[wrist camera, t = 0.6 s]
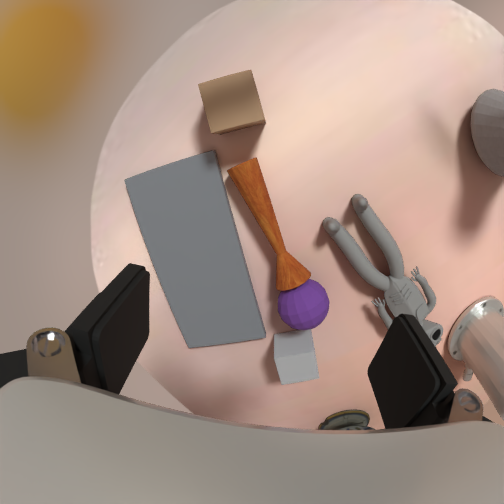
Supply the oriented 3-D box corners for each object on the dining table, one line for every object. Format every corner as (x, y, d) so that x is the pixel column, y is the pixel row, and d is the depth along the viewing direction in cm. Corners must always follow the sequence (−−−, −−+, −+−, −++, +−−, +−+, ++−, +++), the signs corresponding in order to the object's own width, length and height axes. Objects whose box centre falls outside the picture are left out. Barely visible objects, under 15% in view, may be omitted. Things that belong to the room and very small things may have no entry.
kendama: (272, 149, 26) (342, 324, 31) (264, 155, 32) (326, 304, 36) (213, 175, 26) (294, 347, 31) (216, 177, 32) (284, 323, 37)
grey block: (315, 353, 39) (319, 378, 34) (281, 360, 40) (281, 384, 35) (310, 327, 37) (314, 351, 33) (274, 334, 38) (274, 358, 33)
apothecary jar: (331, 402, 43) (345, 493, 26) (386, 407, 44) (409, 487, 27) (302, 437, 47) (306, 515, 31) (354, 441, 48) (366, 512, 31)
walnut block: (265, 123, 29) (264, 119, 24) (220, 134, 29) (211, 133, 25) (254, 80, 27) (251, 69, 22) (209, 92, 28) (198, 84, 23)
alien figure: (376, 189, 27) (458, 336, 32) (362, 183, 31) (444, 318, 36) (315, 237, 29) (413, 369, 34) (310, 225, 33) (403, 349, 38)
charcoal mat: (265, 333, 38) (265, 337, 37) (190, 343, 40) (188, 348, 39) (214, 149, 30) (213, 150, 29) (128, 178, 31) (124, 179, 30)
